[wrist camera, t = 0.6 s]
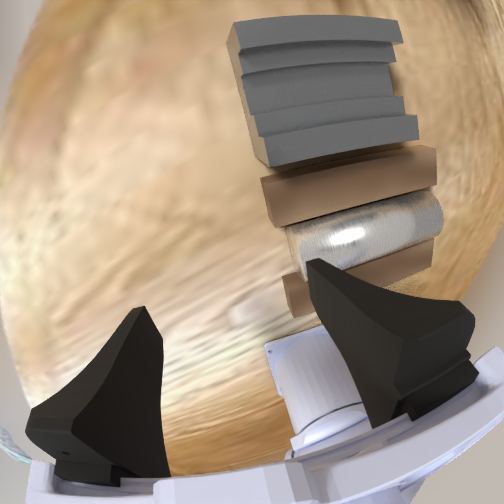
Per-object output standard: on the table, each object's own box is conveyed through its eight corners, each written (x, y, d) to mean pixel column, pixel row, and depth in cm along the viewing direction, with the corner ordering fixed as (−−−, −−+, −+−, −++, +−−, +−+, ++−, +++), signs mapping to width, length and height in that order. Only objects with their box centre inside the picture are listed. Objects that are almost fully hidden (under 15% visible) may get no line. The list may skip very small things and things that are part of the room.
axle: (412, 185, 21) (443, 196, 17) (414, 227, 23) (442, 244, 19) (282, 219, 20) (299, 238, 17) (292, 266, 22) (309, 292, 18)
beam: (420, 257, 24) (430, 266, 23) (287, 304, 24) (293, 318, 22) (421, 145, 19) (435, 149, 17) (260, 177, 18) (266, 184, 17)
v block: (383, 132, 18) (419, 139, 14) (255, 156, 18) (269, 167, 14) (363, 32, 14) (397, 20, 11) (226, 42, 14) (233, 22, 10)
